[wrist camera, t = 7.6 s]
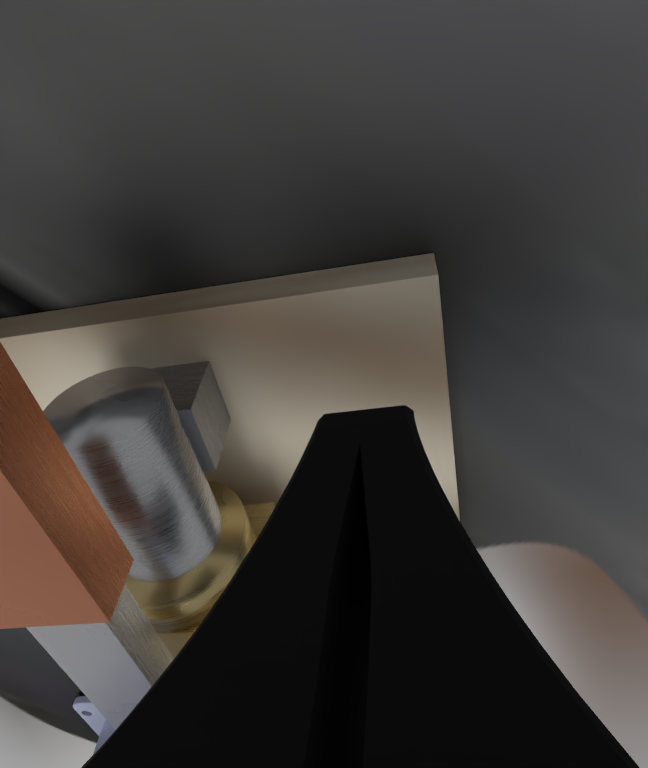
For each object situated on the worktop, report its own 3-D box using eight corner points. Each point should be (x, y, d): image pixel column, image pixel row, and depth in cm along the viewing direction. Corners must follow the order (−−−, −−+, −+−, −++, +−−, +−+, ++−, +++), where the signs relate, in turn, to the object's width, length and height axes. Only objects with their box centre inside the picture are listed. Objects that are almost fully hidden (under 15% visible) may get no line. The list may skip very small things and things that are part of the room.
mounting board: (467, 621, 24) (471, 649, 23) (164, 636, 26) (156, 662, 25) (433, 252, 14) (438, 274, 13) (-34, 323, 17) (-59, 346, 16)
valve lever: (241, 735, 16) (231, 791, 14) (163, 736, 16) (148, 792, 15) (-8, 329, 8) (-62, 384, 7) (-140, 349, 9) (-211, 404, 8)
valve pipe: (333, 648, 23) (325, 809, 19) (227, 653, 24) (195, 809, 20) (224, 324, 15) (162, 483, 10) (63, 346, 15) (-58, 503, 11)
